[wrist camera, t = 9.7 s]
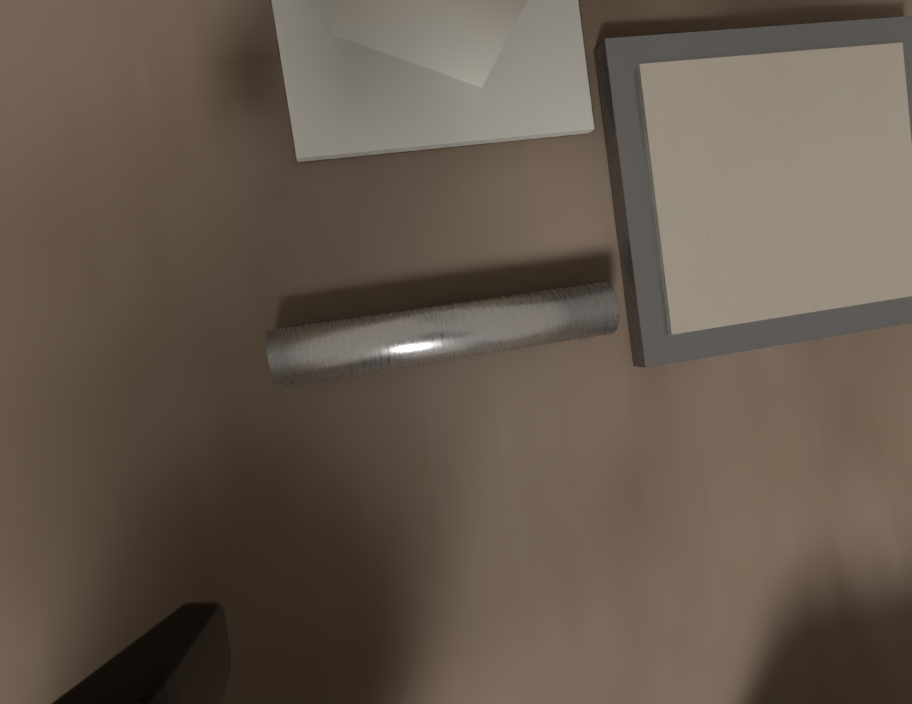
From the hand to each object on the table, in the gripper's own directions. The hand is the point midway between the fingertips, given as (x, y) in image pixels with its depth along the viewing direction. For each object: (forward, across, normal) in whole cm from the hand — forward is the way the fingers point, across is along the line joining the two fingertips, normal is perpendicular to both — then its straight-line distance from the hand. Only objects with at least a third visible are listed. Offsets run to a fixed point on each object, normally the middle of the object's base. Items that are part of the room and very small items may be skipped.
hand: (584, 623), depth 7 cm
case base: (+14, -9, -4) cm, 18 cm away
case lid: (+14, +2, -10) cm, 18 cm away
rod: (+12, +2, -1) cm, 12 cm away
